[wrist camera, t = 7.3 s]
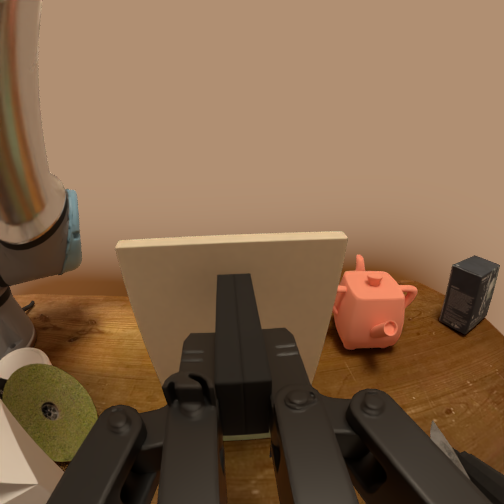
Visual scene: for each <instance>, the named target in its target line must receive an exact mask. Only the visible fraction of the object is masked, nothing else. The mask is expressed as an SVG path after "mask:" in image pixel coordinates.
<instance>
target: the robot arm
mask: <svg viewBox="0 0 504 504" xmlns="http://www.w3.org/2000/svg"><path fill="white" fill-rule="evenodd" d="M42 1H43V0H0V360H1V359H2V358H3V357H4V356H6V355H7V354H9V353H10V352H12V351H15V350H17V349H21V348H28V347H30V348H33V347H34V345H35V342H36V337H37V335H36V331H35V328H34V326H33V323H32V322H31V320H30V318H29V317H28V316H27V315H26V313H25V311H27V310H28V309H30V308H31V307H32V306H33V305H34V304H35V303H34V301H31V303H30V304H29V305H27V306H25V307H23V308H21V307H20V305H19V304H18V303H17V301H16V300H15V298H14V297H13V295H12V293H11V290H10V287H9V286H12V285H16V284H20V283H23V282H28V281H32V280H36V279H40V278H44V277H48V276H53V275H57V274H58V275H62V274H63V273H65V272H68V271H72V270H75V269H76V268H78V267H79V266H80V264H81V261H82V252H81V241H80V230H79V213H78V202H77V194H76V192H75V191H74V190H69V189H64V186H63V183H62V182H61V180H60V179H59V178H58V177H56V176H55V175H53V174H51V173H50V171H49V166H48V161H47V155H46V149H45V143H44V136H43V129H42V121H41V111H40V98H39V78H38V48H39V46H38V45H39V29H40V17H41V8H42ZM162 389H163V392H164V395H165V398H166V401H167V405H166V406H164V407H162V408H160V409H157V410H154V411H149V412H144V413H138V412H137V410H136V409H134V408H132V407H130V406H125V405H117V406H112V407H110V408H108V409H106V410H105V411H104V412H103V413H102V414H101V415H100V416H99V418H98V419H97V421H96V422H95V424H94V425H93V427H92V428H91V430H90V432H89V433H88V435H87V436H86V438H85V440H84V441H83V443H82V444H81V446H80V447H79V449H78V451H77V452H76V454H75V456H74V457H73V459H72V460H71V462H70V464H69V465H68V467H67V469H66V470H65V472H64V474H63V475H62V477H61V479H60V480H59V482H58V484H57V485H56V487H55V489H54V491H53V492H52V494H51V496H50V497H49V499H48V501H47V503H46V504H150V503H151V501H152V498H153V496H154V494H155V491H156V489H157V486H158V484H159V490H158V503H157V504H227V489H226V473H225V453H224V446H223V436H234V435H251V434H263V433H269V430H270V435H271V447H270V457H272V459H273V465H274V471H275V477H276V482H277V488H278V494H279V500H280V504H359V502H358V499H357V496H356V493H355V490H354V488H353V486H354V487H355V489H356V490H357V491H358V493H359V494H360V496H361V497H362V498H363V500H364V501H365V503H366V504H493V503H492V502H491V501H490V500H489V499H488V498H487V497H486V496H485V495H484V494H483V493H482V492H481V491H480V490H479V489H478V488H477V487H476V486H475V485H474V484H473V482H472V481H471V480H470V479H469V478H468V477H467V476H466V475H465V474H464V473H463V472H462V471H461V470H460V469H459V468H458V467H457V466H456V465H455V464H454V463H453V462H452V461H451V459H450V458H449V457H448V456H447V455H446V454H445V453H444V452H443V451H442V450H441V449H440V448H439V447H438V446H437V445H436V444H435V443H434V442H433V441H432V440H431V439H430V438H429V436H428V435H427V434H426V433H425V432H424V431H423V430H422V429H421V428H420V427H419V426H418V425H417V424H416V423H415V422H414V421H413V420H412V419H411V418H410V417H409V416H408V415H407V413H406V412H405V411H404V410H403V409H402V408H401V407H400V406H399V405H398V404H397V403H396V402H395V401H394V400H393V399H392V398H391V397H390V396H389V395H388V394H386V393H385V392H384V391H380V390H378V389H364V390H361V391H359V392H357V393H356V394H355V395H354V396H353V397H352V399H338V398H330V397H326V396H324V395H321V394H320V393H319V392H318V391H317V390H316V389H314V388H313V387H312V385H311V384H310V381H309V378H308V375H307V373H306V370H305V367H304V364H303V361H302V358H301V355H300V353H299V350H298V347H297V344H296V341H295V338H294V335H293V334H292V333H291V332H289V331H288V330H287V329H286V328H285V327H284V328H272V329H262V328H261V323H260V318H259V314H258V309H257V304H256V299H255V294H254V289H253V284H252V279H251V274H250V273H247V274H224V275H217V292H216V322H215V333H190V334H189V336H188V337H187V338H186V339H185V341H184V342H183V348H182V354H181V362H180V367H179V372H177V373H174V374H172V375H170V376H169V377H168V378H167V379H166V380H165V381H164V384H163V386H162ZM352 484H353V485H352Z"/></svg>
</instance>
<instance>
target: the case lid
mask: <svg viewBox="0 0 504 504" xmlns="http://www.w3.org/2000/svg"><path fill="white" fill-rule="evenodd" d="M347 241H348V238H347V236H346V235H345V234H344V232H342V231H335V232H299V233H266V234H239V235H215V236H193V237H172V238H154V239H136V240H120V241H119V242H118V244H117V245H116V247H115V250H116V254H117V258H118V262H119V266H120V269H121V272H122V276H123V280H124V283H125V287H126V290H127V293H128V296H129V300H130V303H131V306H132V309H133V312H134V315H135V318H136V321H137V324H138V326H139V329H140V332H141V335H142V338H143V340H144V343H145V346H146V348H147V351H148V353H149V356H150V358H151V361H152V363H153V366H154V368H155V371H156V373H157V375H158V378H159V380H160V382H161V385H162V386H163V384H164V381H165V380H166V379H167V378H168V377H169V376H170V375H172V374H174V373H177V372H179V367H180V362H181V354H182V348H183V342H184V341H185V339H186V338H187V337H188V336H189V334H190V333H215V322H216V292H217V275H224V274H247V273H250V274H251V279H252V284H253V289H254V294H255V299H256V304H257V309H258V314H259V318H260V323H261V328H262V329H272V328H284V327H285V328H286V329H287V330H288V331H289V332H291V333H292V334H293V335H294V338H295V341H296V344H297V347H298V350H299V353H300V355H301V358H302V361H303V364H304V367H305V370H306V373H307V375H308V378H309V381H310V384H311V385H312V382H313V378H314V375H315V372H316V369H317V365H318V362H319V359H320V355H321V352H322V348H323V345H324V341H325V337H326V334H327V330H328V326H329V322H330V318H331V314H332V310H333V306H334V302H335V298H336V294H337V289H338V284H339V280H340V276H341V271H342V266H343V261H344V257H345V251H346V246H347Z"/></svg>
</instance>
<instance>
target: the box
mask: <svg viewBox="0 0 504 504" xmlns="http://www.w3.org/2000/svg"><path fill="white" fill-rule="evenodd" d="M499 267H500V265H498V264H496V263H493V262H491V261H488V260H486V259H483V258H480V257H477V256H473V257H470V258H468V259H466V260H463V261H461V262H459V263H456V264H453V265H452V270H451V274H450V279H449V283H448V287H447V292H446V296H445V300H444V304H443V307H442V311H441V315H440V318H439V321H440V322H442V323H444V324H446V325H448V326H450V327H451V328H453V329H455V330H457V331H459V332H461V333H463V334H467V333H468V332H469V331H470V330H471V329H472V328H473V327H474V326H476V325H477V324H478V323H479V322H480V321H481V320H482V319H483V318H484V317H485V316H486V315H487V312H488V308H489V305H490V302H491V299H492V295H493V291H494V288H495V284H496V280H497V276H498V271H499Z"/></svg>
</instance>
